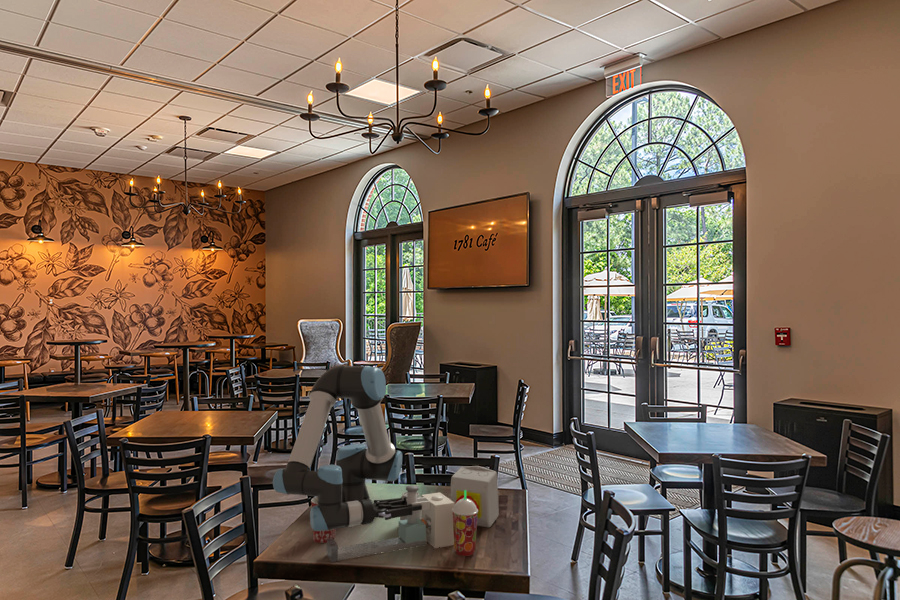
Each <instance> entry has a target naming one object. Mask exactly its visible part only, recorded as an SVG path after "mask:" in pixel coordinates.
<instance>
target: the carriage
mask: <svg viewBox="0 0 900 600" xmlns="http://www.w3.org/2000/svg"><path fill="white" fill-rule="evenodd" d="M419 488H420V487H419V485H412V484H411V485H407V486H406V488H405V491H406V492H408V498H407V505H409V504H411V503H415V502H417V492H418V491H419V490H420V489H419ZM397 535H398V538H399V537H400V538H401V539H402V540H403V541H404V542H405V543H411V542H417V541H423V540H426V524H424V523H423V522H422V521H421V520H420V519H419V518H417V511H415V512H413V514H412V515H408V516H407V520H401V521H400V520H398V534H397Z"/></svg>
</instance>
